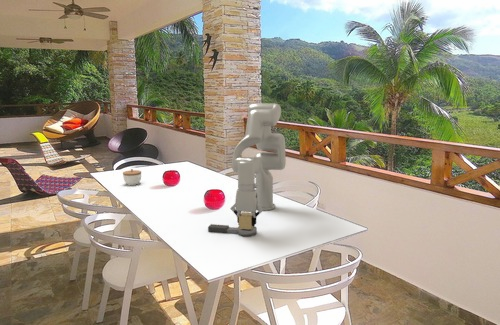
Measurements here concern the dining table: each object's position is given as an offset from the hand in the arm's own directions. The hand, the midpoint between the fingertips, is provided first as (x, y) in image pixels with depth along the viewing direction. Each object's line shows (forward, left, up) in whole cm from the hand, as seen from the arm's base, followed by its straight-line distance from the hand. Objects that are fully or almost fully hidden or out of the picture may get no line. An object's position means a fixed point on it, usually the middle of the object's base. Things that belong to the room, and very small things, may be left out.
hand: (246, 224), depth 186 cm
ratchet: (0, -7, -4) cm, 8 cm away
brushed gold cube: (0, 0, -1) cm, 1 cm away
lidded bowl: (-78, -106, -5) cm, 132 cm away
